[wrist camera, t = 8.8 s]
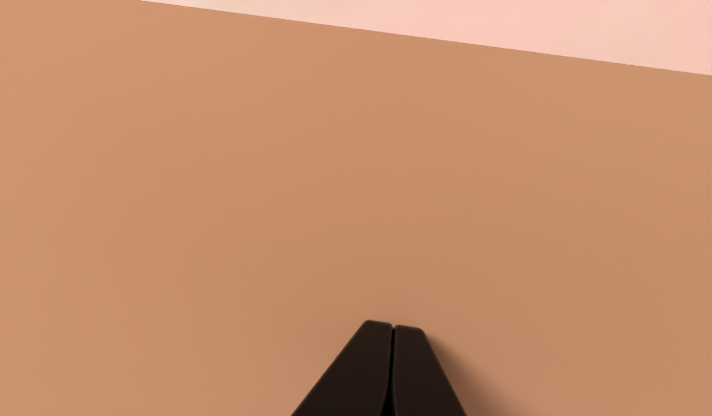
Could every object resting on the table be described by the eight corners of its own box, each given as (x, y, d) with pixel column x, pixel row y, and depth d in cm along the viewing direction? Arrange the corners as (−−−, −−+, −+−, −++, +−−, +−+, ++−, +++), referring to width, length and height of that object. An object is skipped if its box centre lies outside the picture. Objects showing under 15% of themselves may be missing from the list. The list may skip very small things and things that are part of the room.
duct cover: (722, 620, 9) (749, 669, 9) (14, 482, 10) (-17, 516, 10) (989, 112, 6) (1066, 122, 6) (-47, -24, 7) (-100, -32, 7)
